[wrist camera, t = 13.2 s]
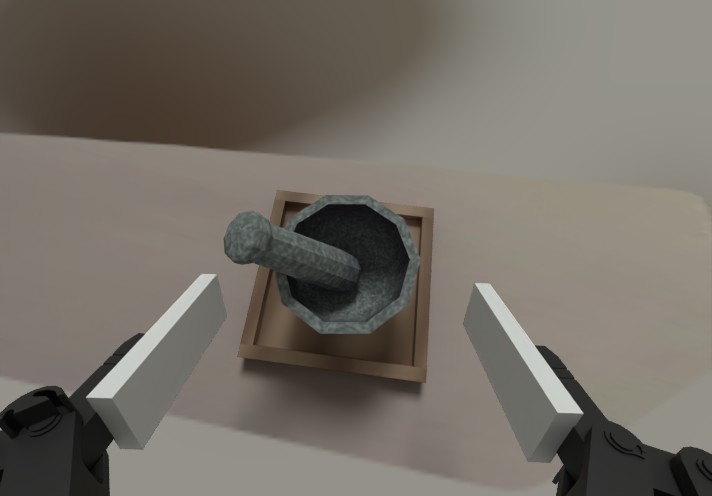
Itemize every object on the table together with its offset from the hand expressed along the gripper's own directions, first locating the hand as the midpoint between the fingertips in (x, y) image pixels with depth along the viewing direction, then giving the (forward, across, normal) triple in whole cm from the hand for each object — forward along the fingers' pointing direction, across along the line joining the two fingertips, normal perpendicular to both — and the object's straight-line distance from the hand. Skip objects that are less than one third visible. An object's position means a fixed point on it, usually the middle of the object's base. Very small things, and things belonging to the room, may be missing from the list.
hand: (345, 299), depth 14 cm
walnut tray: (+10, 0, -5) cm, 11 cm away
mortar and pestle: (+9, -1, -5) cm, 11 cm away
